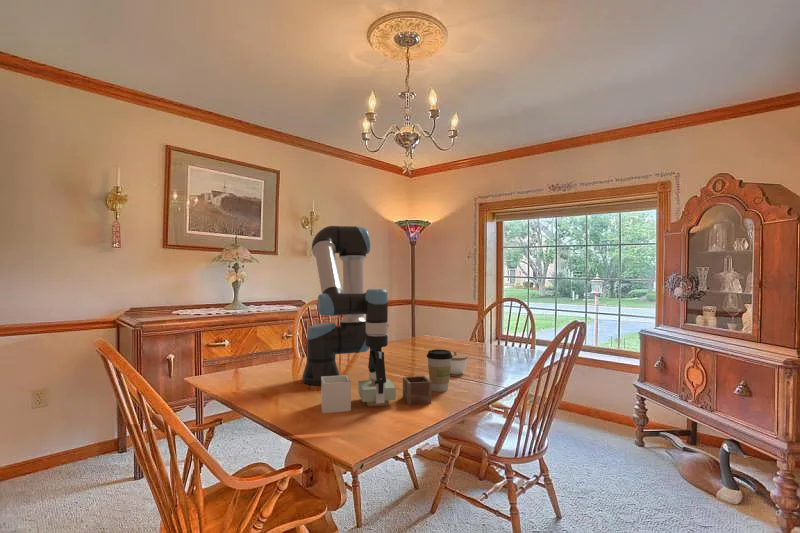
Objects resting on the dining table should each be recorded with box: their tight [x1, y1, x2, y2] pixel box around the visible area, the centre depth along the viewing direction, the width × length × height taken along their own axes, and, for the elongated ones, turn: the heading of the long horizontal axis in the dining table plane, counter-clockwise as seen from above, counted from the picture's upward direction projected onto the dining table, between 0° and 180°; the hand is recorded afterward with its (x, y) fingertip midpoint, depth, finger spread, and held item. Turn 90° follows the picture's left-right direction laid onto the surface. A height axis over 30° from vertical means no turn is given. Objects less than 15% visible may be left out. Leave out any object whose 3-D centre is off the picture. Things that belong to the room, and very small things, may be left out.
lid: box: [357, 377, 397, 403], centre depth 141 cm, size 11×11×6 cm
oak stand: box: [365, 400, 390, 408], centre depth 141 cm, size 7×7×3 cm
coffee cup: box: [426, 348, 452, 393], centre depth 156 cm, size 10×10×15 cm
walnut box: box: [402, 375, 432, 406], centre depth 143 cm, size 8×8×8 cm
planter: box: [320, 374, 352, 414], centre depth 135 cm, size 9×9×10 cm
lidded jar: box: [450, 351, 468, 375], centre depth 184 cm, size 11×11×9 cm
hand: (376, 396), depth 141 cm, fingers open, 13 cm apart
